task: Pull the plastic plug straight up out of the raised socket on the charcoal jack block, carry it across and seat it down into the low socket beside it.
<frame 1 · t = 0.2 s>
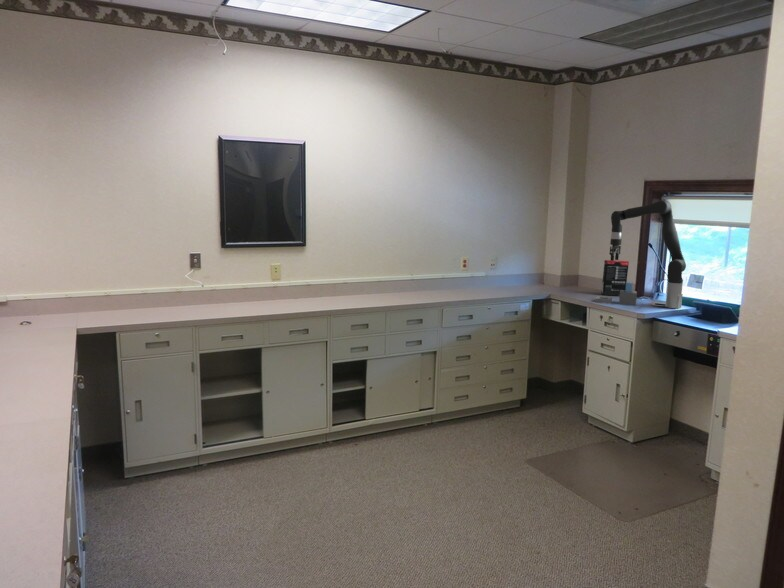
hand: (614, 260, 421), 29 cm above the countertop, tool pointing down, fingers open, 8 cm apart
jack block: (615, 302, 409), on the countertop
plug: (628, 295, 405), point 6 cm above the countertop, touching jack block
graphics card box: (613, 295, 442), on the countertop
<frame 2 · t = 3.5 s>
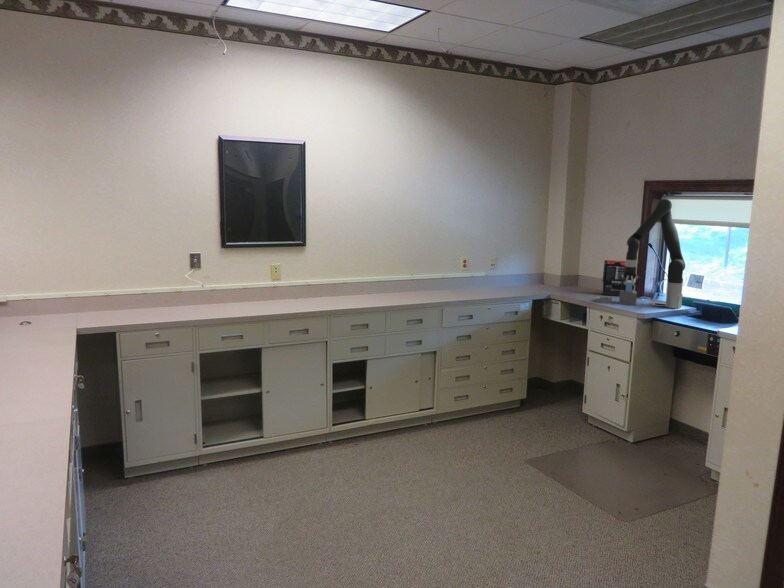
hand: (628, 289, 404), 10 cm above the countertop, tool pointing down, fingers closed on plug, 4 cm apart
plug: (628, 295, 405), point 6 cm above the countertop, touching gripper, jack block
everything else where it was.
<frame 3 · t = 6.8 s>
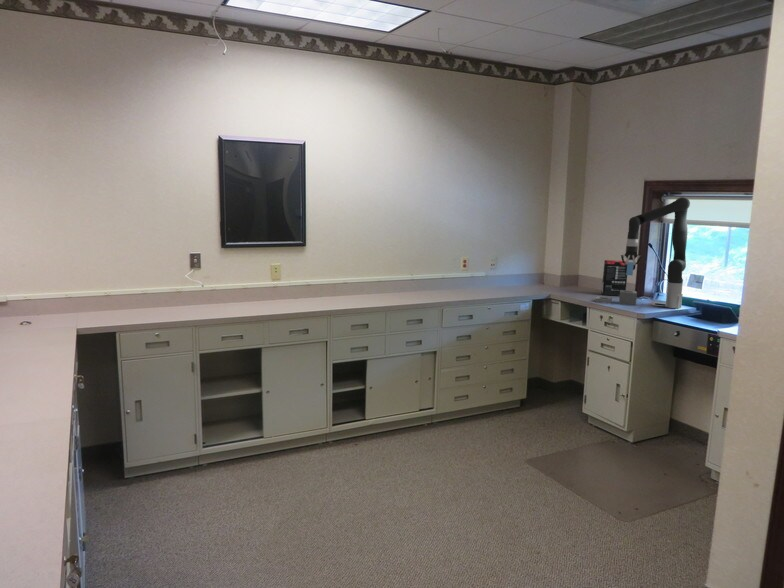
hand: (629, 269, 402), 24 cm above the countertop, tool pointing down, fingers closed on plug, 4 cm apart
plug: (629, 274, 403), point 20 cm above the countertop, touching gripper
everything else where it was.
when the fingers open (5 cm above the countertop, at t = 10.5 s): plug moves 1 cm, resting in jack block.
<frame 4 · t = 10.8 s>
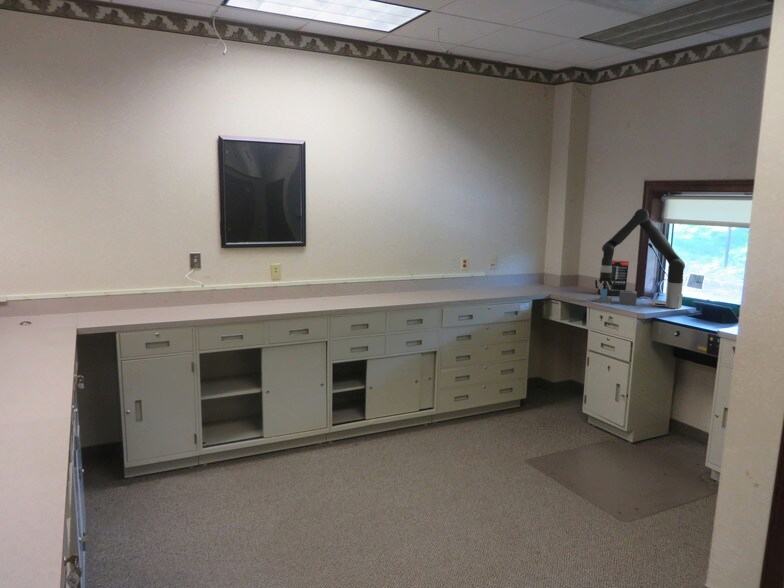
hand: (604, 294, 411), 5 cm above the countertop, tool pointing down, fingers open, 6 cm apart
plug: (603, 301, 412), resting in jack block
everything else where it was.
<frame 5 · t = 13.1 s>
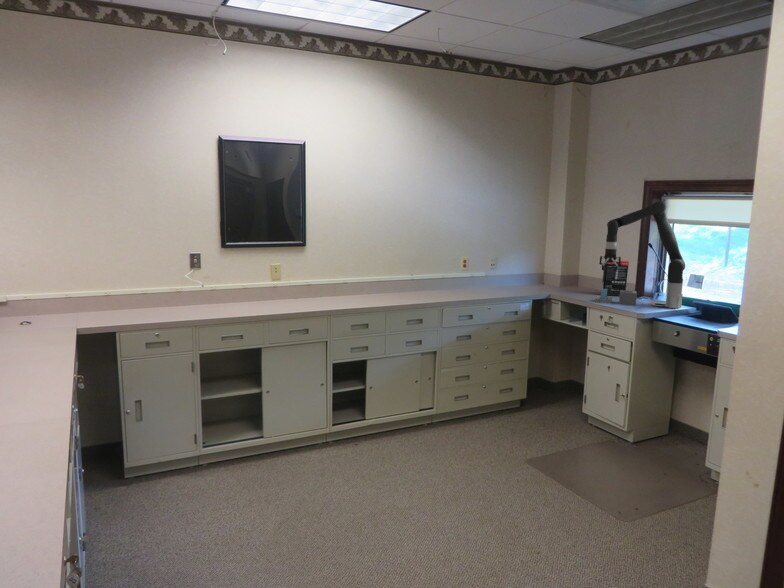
hand: (609, 270, 408), 22 cm above the countertop, tool pointing down, fingers open, 8 cm apart
nothing on the countertop moved.
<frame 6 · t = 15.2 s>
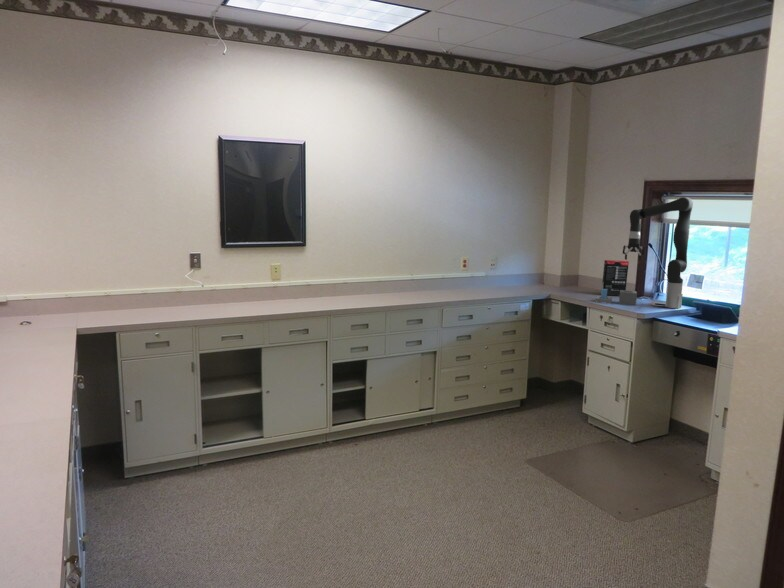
hand: (632, 260, 410), 30 cm above the countertop, tool pointing down, fingers open, 8 cm apart
nothing on the countertop moved.
at the end: plug 0.1 cm from the target spot on the jack block, point 0.0 cm above the jack block's base; plug tilted 0°; the gripper is holding nothing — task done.
